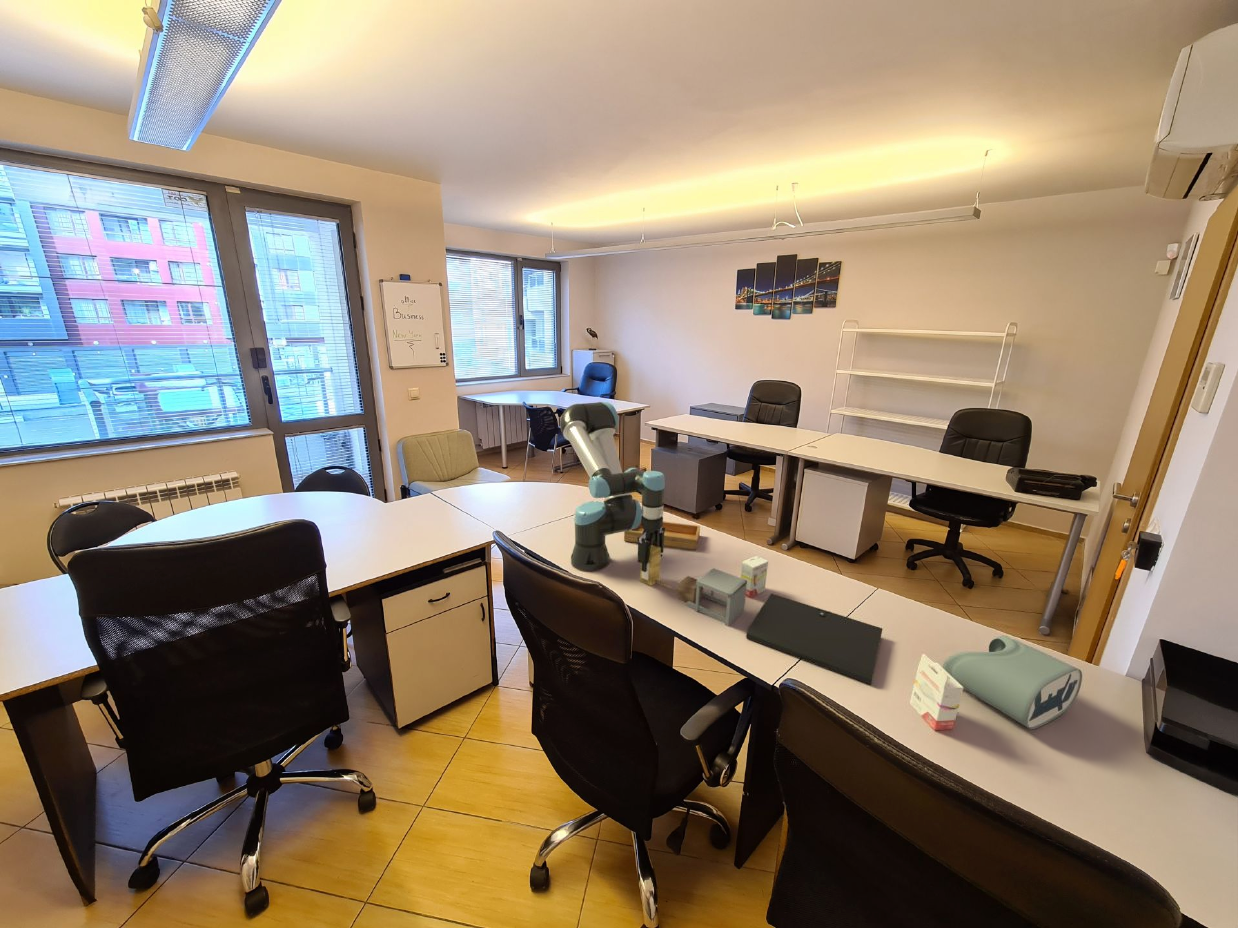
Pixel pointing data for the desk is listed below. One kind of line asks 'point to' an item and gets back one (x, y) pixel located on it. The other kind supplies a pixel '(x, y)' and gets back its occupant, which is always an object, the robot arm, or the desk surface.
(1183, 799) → the desk surface
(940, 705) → the ink cartridge box
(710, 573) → the box
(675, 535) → the tray
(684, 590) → the block
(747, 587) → the ink box
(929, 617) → the desk surface
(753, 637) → the file folder
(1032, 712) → the green hollow piece
